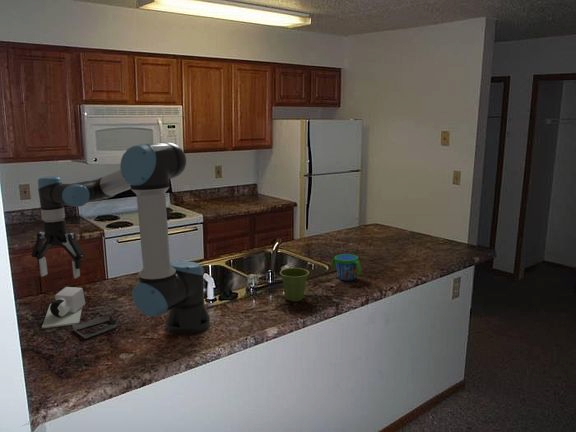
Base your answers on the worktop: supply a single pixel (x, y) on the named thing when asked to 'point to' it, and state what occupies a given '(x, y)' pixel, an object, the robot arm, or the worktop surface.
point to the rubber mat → (61, 319)
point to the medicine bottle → (67, 301)
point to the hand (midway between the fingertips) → (60, 276)
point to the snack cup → (346, 266)
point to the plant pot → (294, 283)
